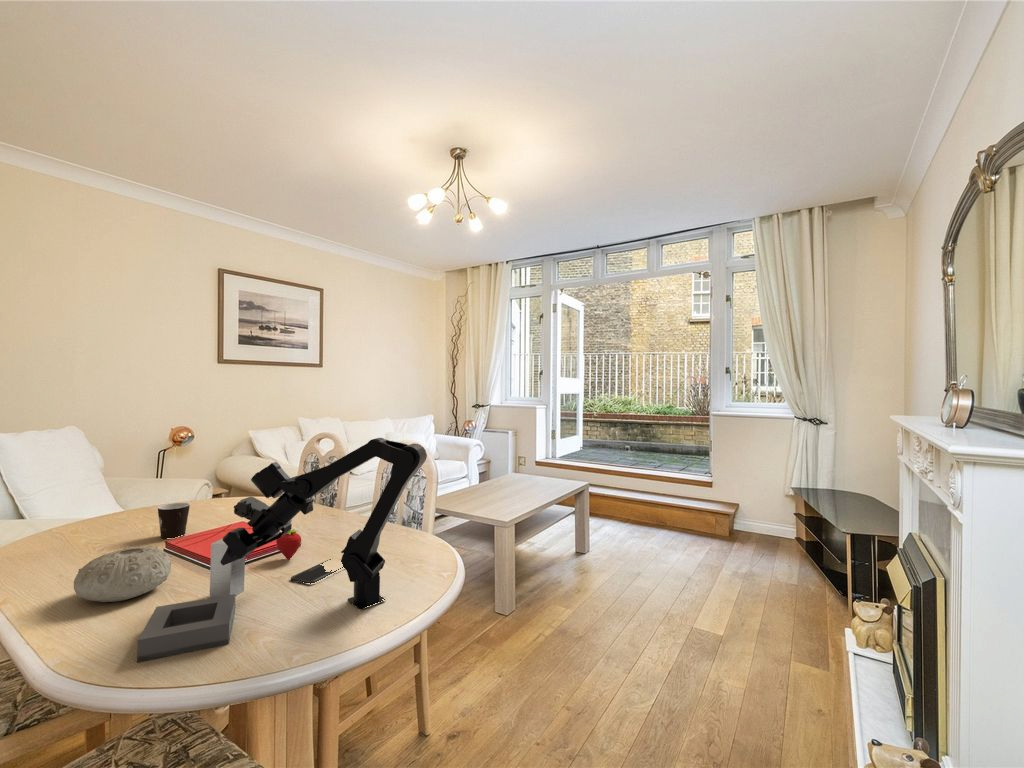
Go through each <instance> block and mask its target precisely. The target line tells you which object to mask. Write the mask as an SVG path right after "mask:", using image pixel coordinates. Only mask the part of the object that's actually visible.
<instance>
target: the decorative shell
mask: <svg viewBox="0 0 1024 768" xmlns="http://www.w3.org/2000/svg"><path fill="white" fill-rule="evenodd" d="M171 571H172V559H171V558H170V557H169V555H168V554H167V552H166V551H164V550H162V549H160V548H159V547H158V546H155V547H152V546H140V545H139V546H131V547H127V548H124V547H123V548H122V549H118V550H116V551H112V552H109V553H105V554H102V555H100V556H98V557H95V558H94V559H92V560H90V561H89V562H87V563H86V564H85V565H83V566H82V567H81V568H78V572H77V574H76V575H75V578H74V580H73V590H74V593H75V594H76V595H77V597H79V598H81V599H83V600H87V601H90V602H91V601H92V602H99V603H109V602H110V603H111V602H112V603H113V602H122V601H126V600H129V599H133V598H135V597H138V596H141V595H143V594H146V593H148V592H151V591H153V590H155V589H156V588H157V587H160V585H162V584H163V583H164V582H166V580H168V577H169V576H170V573H171Z"/></svg>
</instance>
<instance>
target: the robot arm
mask: <svg viewBox="0 0 1024 768" xmlns="http://www.w3.org/2000/svg"><path fill="white" fill-rule="evenodd" d="M376 457H377V458H379V459H381V460H383V461H385V462H387V463H389V464H392V466H391V471H390V477H389V480H388V481H387V483H386V486H385V487H384V490H383V491H382V493H381V494H380V497H379V498H378V501H377V503H376V504H375V506H374V508H373V510H372V511H371V514H370V516H369V518H368V519H367V521H366V523H365V525H364V527H363V529H358V530H356V531H355V532H354V533H352V534H351V535H349V537H348V539H347V541H346V545H345V547H344V549H342V550H341V551H340V553H341V554H342V555H341V559H340V560H341V562H342V564H343V567H344V568H345V569H344V570H346V574H347V577H348V579H349V582H351V583H353V596H352V597H348V598H346V599H347V602H348V603H349V602H350V603H349V604H351V605H352V604H353V605H354V606H353V605H352V606H353V607H355V606H356V607H357V608H356V607H355V608H356V609H358V610H359V609H362V610H364V609H363V608H365V607H367V606H370V605H373V604H375V603H378V602H381V601H383V600H382V599H384V598H385V597H383V596H382V595H380V594H381V593H380V589H381V588H380V587H381V585H380V584H381V576H380V575H381V573H380V572H381V570H382V569H383V568H384V567H385V563H386V560H385V558H384V557H383V556H382V555H381V554H380V553H379V552H378V551H377V550H378V549H379V545H380V539H381V535H382V531H383V530H384V528H385V526H386V524H387V523H388V520H389V519H390V517H391V515H392V513H393V511H394V510H395V507H396V506H397V504H398V501H399V500H400V497H401V496H402V494H403V492H404V490H405V489H406V487H407V485H408V483H409V482H410V481H411V479H412V478H413V477H414V476H415V475H416V474H417V472H418V471H419V470H420V469H421V468H422V467H423V465H424V464H425V462H426V460H427V457H428V454H427V452H426V449H425V447H424V446H422V445H421V444H419V443H411V444H407V443H404V442H399V441H394V440H389V439H385V438H384V437H377V438H376V437H375V438H373V439H370V440H369V441H368V442H367V443H365V444H364V445H361V446H359V447H358V448H356V449H355V450H353V451H350V452H349V453H347V454H346V455H344V456H342V457H340V458H338V459H337V460H335V461H333V462H331V463H329V464H328V465H326V466H323V467H320V468H317V469H314V470H311V471H308V472H306V473H302V474H300V475H296V476H293V477H290V476H289V475H288V474H287V472H285V470H284V469H283V468H282V467H281V465H280V463H278V462H277V461H275V462H274V461H273V462H271V463H269V465H268V466H267V465H266V467H264V468H263V469H261V470H260V471H258V472H256V473H254V475H253V476H252V477H251V478H250V481H251V482H252V483H253V485H254V486H255V487H256V488H257V489H258V490H259V492H261V494H262V495H263V496H264V497H265V498H266V499H269V498H272V499H276V498H277V499H276V500H275V501H274V502H273V503H272V504H271V505H270V506H269V505H268V504H266V503H265V502H263V501H261V500H259V499H258V498H256V497H253V496H248V497H246V498H242V499H240V501H238V502H237V503H236V504H235V505H234V506H233V514H235V515H236V516H238V517H239V518H241V519H242V518H243V519H246V520H249V521H247V525H248V526H249V528H251V529H252V532H251V533H249V531H248V530H247V529H246V528H245V527H237V528H235V529H233V530H231V531H229V532H227V533H226V534H225V535H224V536H223V537H222V538H223V541H224V542H225V544H226V545H227V546H228V547H227V550H226V552H225V554H224V556H223V558H222V559H221V561H220V563H221V564H222V565H226V564H228V563H231V562H233V561H236V560H238V559H242V558H244V557H245V558H246V557H247V556H249V555H251V553H253V552H254V551H255V550H256V549H258V548H261V547H263V546H265V545H267V544H270V543H272V542H275V541H276V540H277V539H278V538H280V537H282V536H284V535H285V534H287V533H288V532H289V531H290V530H292V520H293V519H294V518H295V516H297V514H299V513H300V512H301V513H302V514H303V515H307V514H309V513H311V512H312V511H314V505H313V503H314V501H313V500H309V499H310V498H312V497H315V496H317V495H320V494H322V493H324V491H326V490H327V489H328V488H329V487H330V486H332V485H333V484H334V483H335V482H336V480H338V479H340V477H343V476H344V475H346V474H348V473H349V472H351V471H353V470H355V469H356V468H358V467H360V466H362V465H363V464H366V463H367V462H369V461H370V460H372V459H374V458H376ZM381 596H382V597H381ZM384 600H385V601H386V598H385V599H384ZM365 609H366V608H365Z"/></svg>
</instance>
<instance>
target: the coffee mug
mask: <svg viewBox="0 0 1024 768" xmlns="http://www.w3.org/2000/svg"><path fill="white" fill-rule="evenodd" d="M190 507H191V503H188V502H174V503H167V504H163V505H160V506H158V507H157V514H158V515H157V516H158V523H159V532H160V538H162V540H168V539H167V538H175V537H178V536H181V535H184V534H185V535H186V530H187V525H188V524H187V523H188V518H189V511H190ZM185 535H184V536H185ZM175 539H176V538H175Z"/></svg>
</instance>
